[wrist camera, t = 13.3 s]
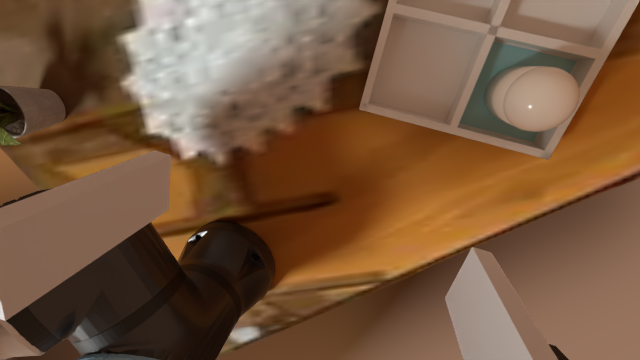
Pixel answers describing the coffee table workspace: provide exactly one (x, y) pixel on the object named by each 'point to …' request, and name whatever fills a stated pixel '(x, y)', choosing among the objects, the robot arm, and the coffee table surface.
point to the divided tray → (484, 60)
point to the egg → (532, 97)
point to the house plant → (27, 112)
